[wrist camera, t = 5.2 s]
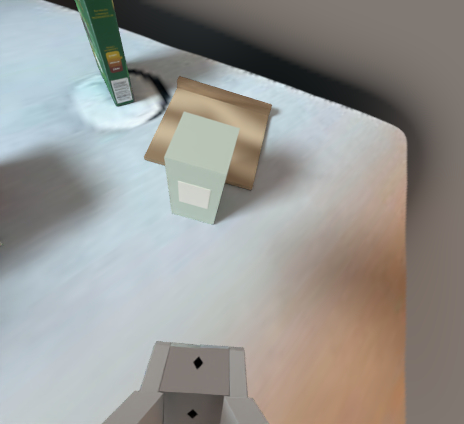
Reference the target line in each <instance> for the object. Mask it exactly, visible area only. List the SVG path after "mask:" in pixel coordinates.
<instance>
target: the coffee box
mask: <svg viewBox="0 0 464 424" xmlns="http://www.w3.org/2000/svg"><path fill="white" fill-rule="evenodd" d="M75 1H76V4H77V7H78V10H79V13H80V16H81V19H82V22H83V25H84V27H85V30H86V33H87V36H88V39H89V42H90V45H91V48H92V51H93V54H94V56H95V59H96V62H97V65H98V68H99V70H100V72H101V75H102V77H103V79H104V81H105V83H106V85H107V87H108V90H109V92H110V94H111V96H112V98H113V100H114V103H115V105H116V106H120V105H124V104H128V103H133V102H134V96H133V92H132V87H131V83H130V78H129V74H128V69H127V65H126V60H125V56H124V51H123V47H122V42H121V37H120V33H119V28H118V23H117V19H116V15H115V10H114V5H113V1H112V0H75Z"/></svg>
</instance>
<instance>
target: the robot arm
mask: <svg viewBox="0 0 464 424" xmlns="http://www.w3.org/2000/svg"><path fill="white" fill-rule="evenodd" d="M102 424H269V423H268V421H267V420H266V418H265V416H264V415H263V413H262V412H261V410H260V409H259V407H258V406H257V404H256V403H255V401H254V399H253V398H248V392H247V379H246V365H245V352H244V348H241V347H228V346H215V345H193V344H183V343H173V342H161V341H156V343H155V345H154V347H153V350H152V354H151V357H150V360H149V363H148V366H147V369H146V372H145V375H144V378H143V382H142V385H141V388H140V391H134V392H133V393H132V394H131V395H130V396H129V397H128V398H127V399H126V400H125V401H124V402H123V403H122V404H121V405H120V406H119V407H118V408H117V409H116V410H115V411H114V412H113V413H112V414H111V415H110V416H109V417H108V418H107V419H106V420H105V421H104V422H103V423H102Z"/></svg>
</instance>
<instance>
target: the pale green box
mask: <svg viewBox="0 0 464 424" xmlns="http://www.w3.org/2000/svg"><path fill="white" fill-rule="evenodd" d="M239 130H240V128H237V127H234V126H231V125H227V124H224V123H221V122H217V121H214V120H211V119H207V118H204V117H201V116H197V115H194V114H191V113H187V112H183V115H182V117H181V119H180V122H179V124H178V126H177V129H176V131H175V133H174V135H173V138H172V140H171V142H170V145H169V147H168V149H167V152H166V154H165V156H164V160H165V167H166V174H167V182H168V189H169V196H170V204H171V211H172V214H175V215H179V216H183V217H186V218H190V219H193V220H197V221H201V222H204V223H208V224H211V225H213V224H214V220H215V217H216V213H217V210H218V206H219V203H220V199H221V195H222V192H223V188H224V185H225V181H226V177H227V174H228V170H229V166H230V163H231V159H232V156H233V152H234V148H235V145H236V141H237V137H238V134H239Z"/></svg>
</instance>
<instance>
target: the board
mask: <svg viewBox="0 0 464 424" xmlns="http://www.w3.org/2000/svg"><path fill="white" fill-rule="evenodd" d="M271 107H272V105H271V104H268V103H265V102H262V101H259V100H255V99H252V98H249V97H246V96H242V95H239V94H236V93H233V92H229V91H226V90H223V89H220V88H216V87H213V86H210V85H207V84H204V83H200V82H197V81H194V80H191V79H187V78H184V77H181V76H179V77H178V79H177V89H176V91H175V94H174V96H173V98H172V100H171V102H170V104H169V106H168V108H167V110H166V112H165V114H164V116H163V119H162V121H161V123H160V125H159V127H158V129H157V131H156V133H155V135H154V137H153V139H152V141H151V144H150V146H149V148H148V150H147V152H146V154H145V156H144V159H145V160H147V161H151V162H154V163H158V164H161V165H165V160H164V156H165V154H166V152H167V149H168V147H169V145H170V142H171V140H172V138H173V135H174V133H175V131H176V129H177V126H178V124H179V122H180V119H181V117H182V115H183V112H187V113H191V114H194V115H197V116H201V117H204V118H207V119H211V120H214V121H217V122H221V123H224V124H227V125H231V126H234V127H237V128H240V130H239V134H238V137H237V141H236V145H235V148H234V152H233V156H232V159H231V163H230V166H229V170H228V174H227V177H226V181H225V183H227V184H231V185H234V186H238V187H241V188H245V189H248V190H252V187H253V183H254V178H255V174H256V169H257V165H258V160H259V156H260V151H261V147H262V142H263V138H264V133H265V129H266V124H267V120H268V116H269V113H270V110H271Z"/></svg>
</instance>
